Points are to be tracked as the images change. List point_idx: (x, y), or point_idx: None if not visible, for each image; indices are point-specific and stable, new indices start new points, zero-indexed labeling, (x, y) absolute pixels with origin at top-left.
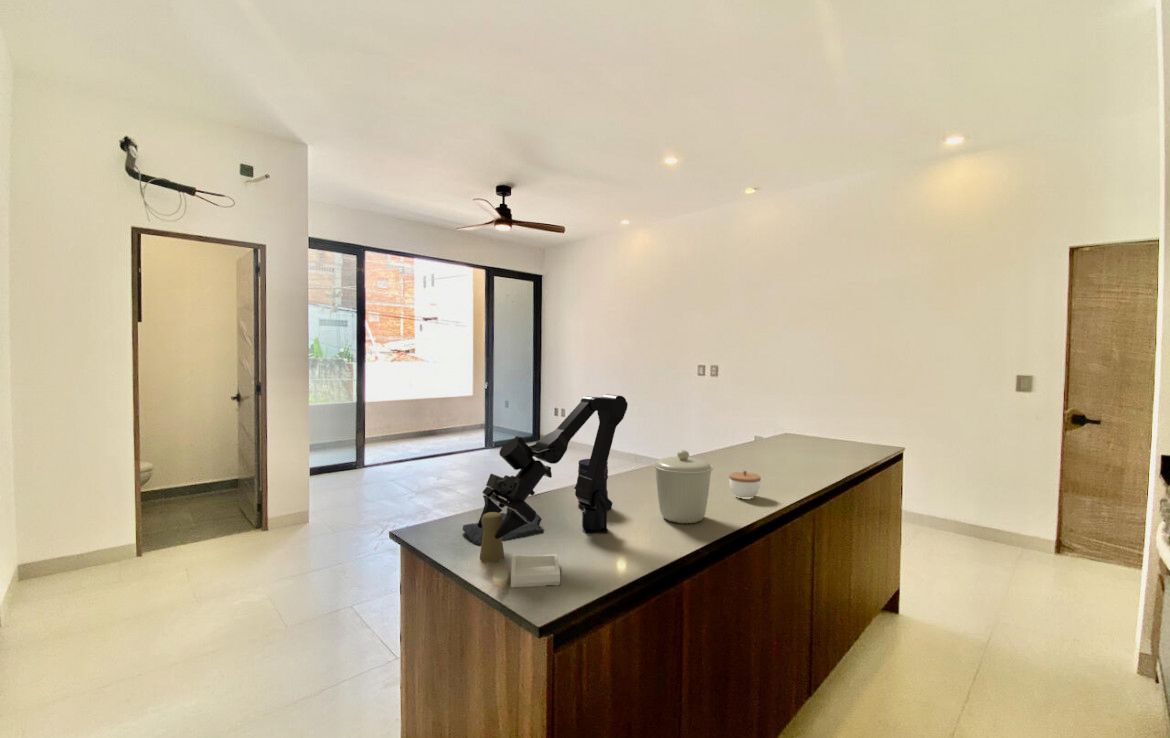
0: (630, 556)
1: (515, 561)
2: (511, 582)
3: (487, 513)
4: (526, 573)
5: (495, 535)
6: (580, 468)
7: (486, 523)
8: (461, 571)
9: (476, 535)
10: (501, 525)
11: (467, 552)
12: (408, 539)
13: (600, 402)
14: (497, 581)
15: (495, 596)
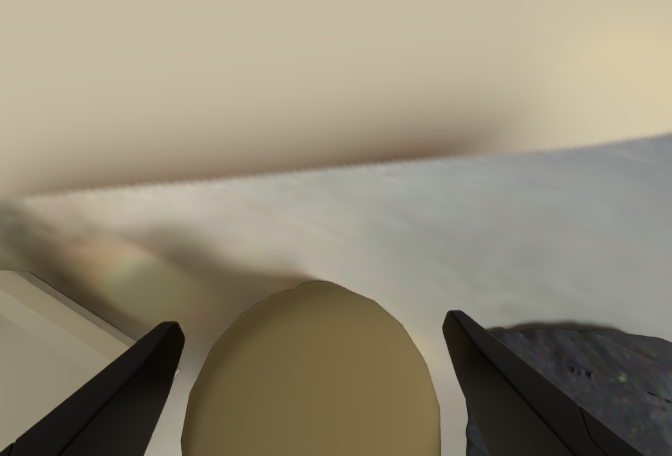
0: None
1: (80, 365)
2: (2, 272)
3: (361, 389)
4: (33, 376)
5: (158, 327)
6: None
7: (256, 304)
8: (274, 185)
9: (544, 359)
10: (68, 418)
11: (423, 269)
12: (638, 142)
13: None
14: (111, 253)
15: (21, 199)
